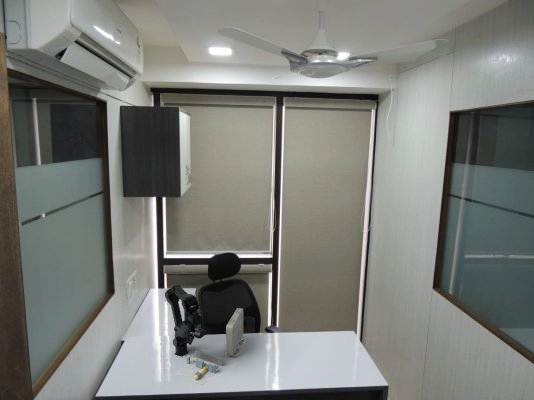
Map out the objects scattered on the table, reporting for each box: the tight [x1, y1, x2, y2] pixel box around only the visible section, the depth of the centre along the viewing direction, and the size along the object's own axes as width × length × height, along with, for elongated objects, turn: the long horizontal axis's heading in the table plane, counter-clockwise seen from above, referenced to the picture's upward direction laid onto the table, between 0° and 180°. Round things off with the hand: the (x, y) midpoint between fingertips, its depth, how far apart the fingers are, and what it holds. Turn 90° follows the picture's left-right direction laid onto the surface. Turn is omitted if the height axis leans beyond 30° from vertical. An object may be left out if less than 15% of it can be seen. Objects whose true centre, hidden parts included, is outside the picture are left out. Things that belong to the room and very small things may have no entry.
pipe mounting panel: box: [174, 349, 224, 386], centre depth 188 cm, size 19×18×5 cm
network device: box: [224, 307, 246, 357], centre depth 210 cm, size 26×9×20 cm, turn 170°
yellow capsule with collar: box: [194, 366, 209, 380], centre depth 184 cm, size 11×3×2 cm, turn 153°
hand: (190, 344), depth 192 cm, fingers closed
